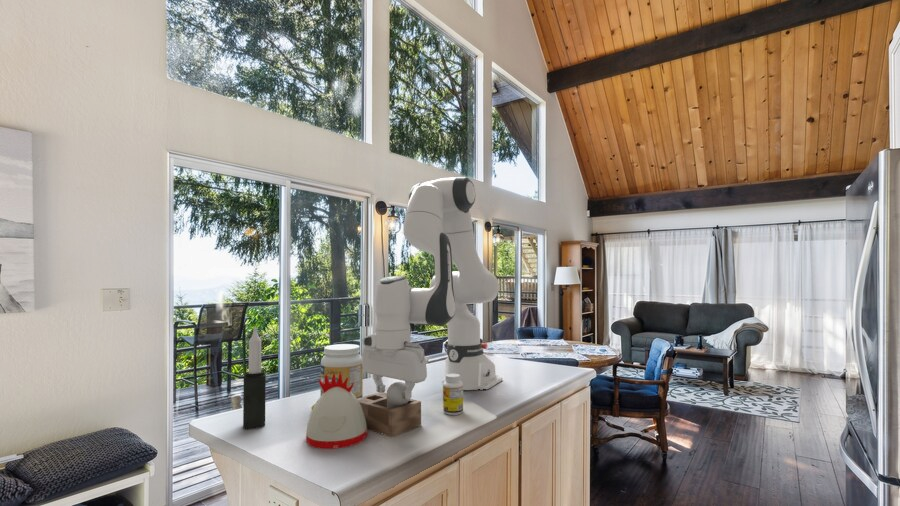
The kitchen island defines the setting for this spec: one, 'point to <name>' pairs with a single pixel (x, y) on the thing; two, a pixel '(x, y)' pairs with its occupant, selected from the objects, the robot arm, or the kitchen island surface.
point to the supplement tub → (343, 366)
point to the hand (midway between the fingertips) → (393, 395)
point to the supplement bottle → (453, 395)
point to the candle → (254, 387)
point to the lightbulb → (396, 395)
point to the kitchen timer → (336, 417)
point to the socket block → (390, 415)
